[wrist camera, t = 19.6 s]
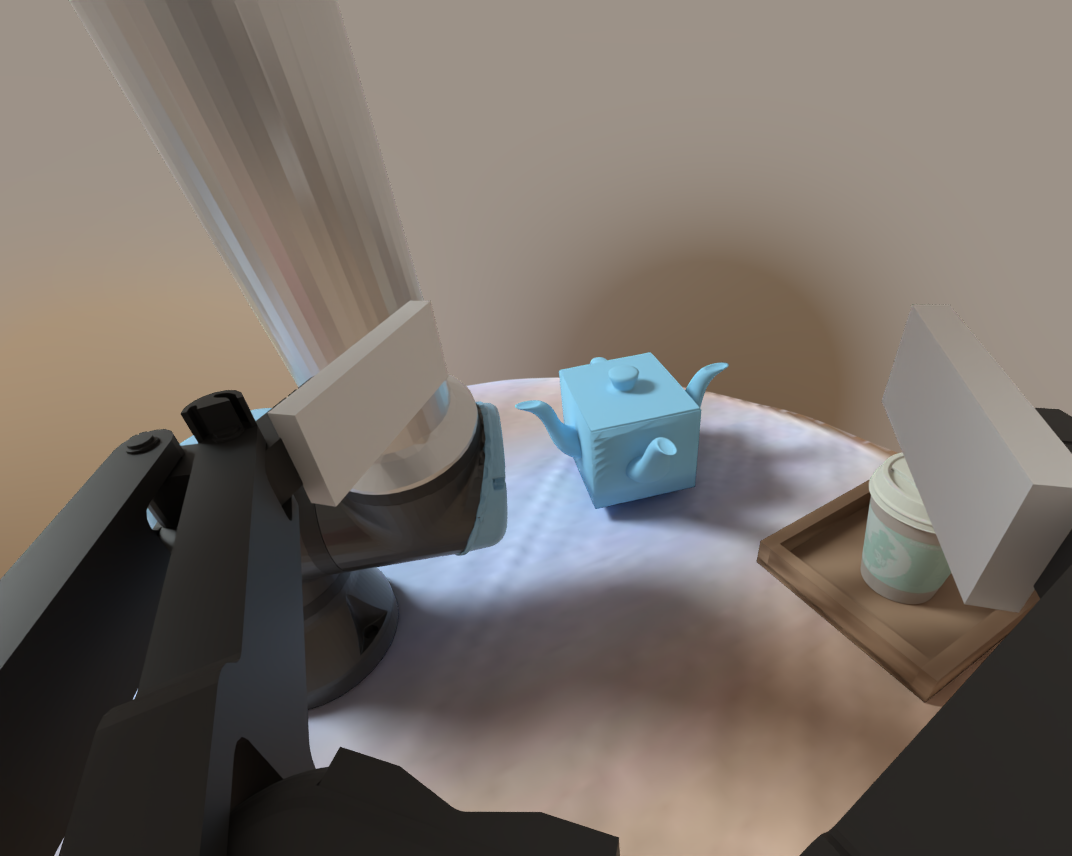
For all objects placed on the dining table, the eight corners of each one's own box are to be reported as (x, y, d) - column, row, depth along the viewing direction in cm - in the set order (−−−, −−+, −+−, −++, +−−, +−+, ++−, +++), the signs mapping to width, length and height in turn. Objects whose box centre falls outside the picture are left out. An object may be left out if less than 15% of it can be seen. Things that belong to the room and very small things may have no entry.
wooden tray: (756, 561, 52) (760, 540, 50) (866, 498, 57) (873, 477, 56) (924, 702, 40) (937, 681, 38) (1044, 604, 45) (1060, 582, 43)
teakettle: (595, 419, 76) (589, 326, 68) (725, 452, 66) (737, 348, 58) (523, 498, 64) (505, 397, 55) (669, 553, 54) (674, 440, 46)
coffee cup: (839, 536, 52) (867, 441, 46) (941, 552, 49) (987, 453, 43) (848, 605, 46) (882, 506, 39) (965, 629, 43) (1024, 526, 36)
